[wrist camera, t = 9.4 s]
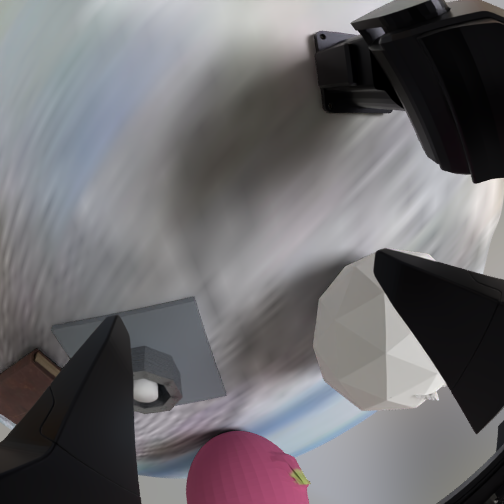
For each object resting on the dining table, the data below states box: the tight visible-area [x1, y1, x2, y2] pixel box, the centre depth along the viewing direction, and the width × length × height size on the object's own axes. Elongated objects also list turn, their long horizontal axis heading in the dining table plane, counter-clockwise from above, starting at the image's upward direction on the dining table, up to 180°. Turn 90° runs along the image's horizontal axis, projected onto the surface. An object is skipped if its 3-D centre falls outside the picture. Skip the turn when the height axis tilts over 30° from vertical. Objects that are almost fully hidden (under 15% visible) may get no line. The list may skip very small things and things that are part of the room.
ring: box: [131, 346, 183, 414], centre depth 23 cm, size 7×7×3 cm
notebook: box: [0, 349, 62, 425], centre depth 24 cm, size 15×20×2 cm
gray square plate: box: [51, 297, 227, 406], centre depth 23 cm, size 14×14×4 cm
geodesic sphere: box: [313, 248, 447, 411], centre depth 21 cm, size 15×14×14 cm
